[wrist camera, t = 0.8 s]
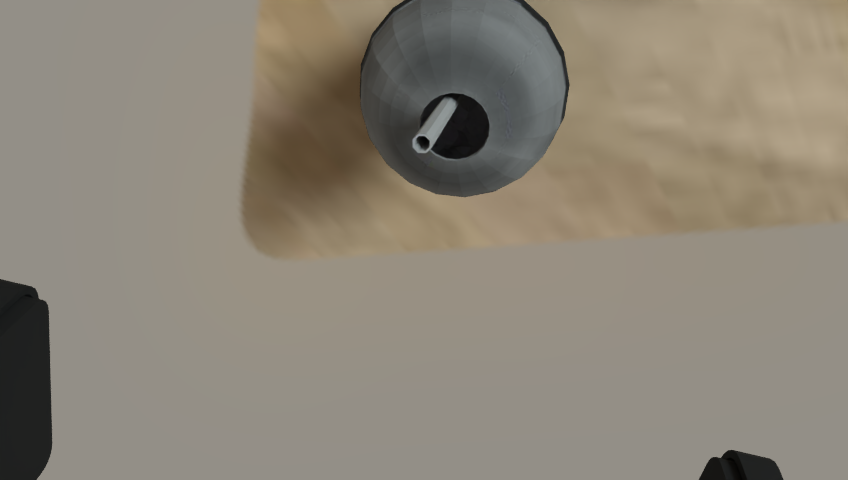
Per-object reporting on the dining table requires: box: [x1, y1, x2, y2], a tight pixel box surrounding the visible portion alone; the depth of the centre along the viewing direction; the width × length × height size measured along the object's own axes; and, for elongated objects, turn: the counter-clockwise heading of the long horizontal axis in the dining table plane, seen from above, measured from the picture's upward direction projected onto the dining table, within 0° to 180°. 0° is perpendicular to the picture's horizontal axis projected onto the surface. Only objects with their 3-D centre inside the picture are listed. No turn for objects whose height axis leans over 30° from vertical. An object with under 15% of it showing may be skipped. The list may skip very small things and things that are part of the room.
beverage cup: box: [360, 0, 569, 197], centre depth 28 cm, size 7×7×20 cm
